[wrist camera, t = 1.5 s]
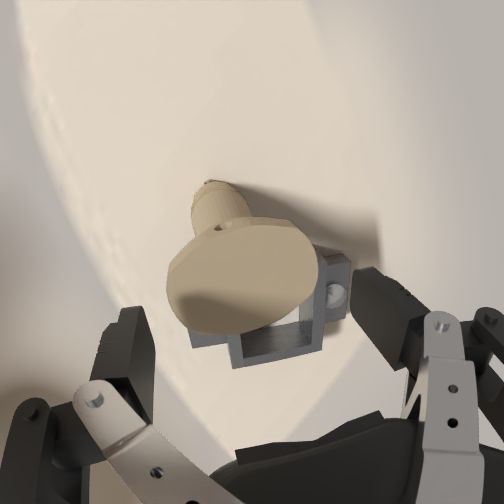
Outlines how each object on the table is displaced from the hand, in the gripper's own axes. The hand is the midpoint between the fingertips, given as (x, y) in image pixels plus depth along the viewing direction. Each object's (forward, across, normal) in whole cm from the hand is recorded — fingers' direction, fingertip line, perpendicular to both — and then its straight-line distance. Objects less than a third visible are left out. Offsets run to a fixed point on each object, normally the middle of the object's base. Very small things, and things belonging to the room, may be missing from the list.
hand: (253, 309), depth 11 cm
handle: (+17, 0, 0) cm, 17 cm away
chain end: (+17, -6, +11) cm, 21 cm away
